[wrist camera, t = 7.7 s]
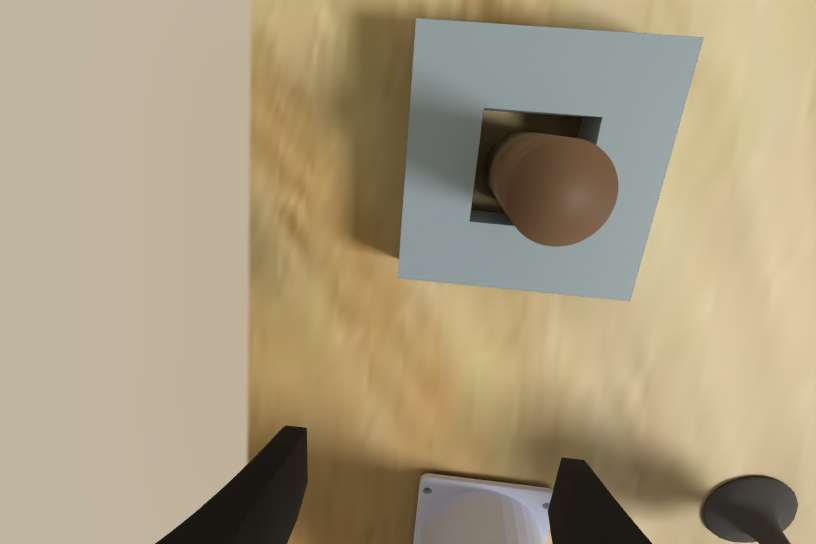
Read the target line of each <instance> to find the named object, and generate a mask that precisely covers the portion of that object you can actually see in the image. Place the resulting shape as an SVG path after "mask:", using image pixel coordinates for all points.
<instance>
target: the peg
mask: <svg viewBox="0 0 816 544" xmlns="http://www.w3.org/2000/svg"><path fill="white" fill-rule="evenodd" d="M485 177H486V181H487V184H488V186H489V188H490V189H491V191H492V192H493V194H494V196H495V197H496V199H497V200H498V202H499V203H500V205H501V206H502V208H503V209H504V211H505V212H506V214H507V215H508V217H509V218H510V220H511V221H512V223H513V224H514V226H515V227H516V228H517V230H518V231H519V232H520V233H521V234H522V235H524V236H525V237H526V238H528V239H529V240H531V241H533V242H535V243H538V244H541V245H545V246H551V247H561V246H568V245H572V244H575V243H578V242H581V241H583V240H585V239H587V238H588V237H590V236H591V235H593V234H594V233H595V232H597V231H598V230H599V229H600V228H601V227H602V226H603V225H604V224H605V222H606V221H607V220H608V218H609V217H610V215H611V213H612V211H613V209H614V207H615V204H616V201H617V196H618V176H617V172H616V169H615V167H614V164H613V162H612V161H611V159H610V158H609V156H608V155H607V154H606V153H605V152H604V151H603V150H602V149H601V148H600V147H598V146H597V145H595V144H593V143H591V142H589V141H587V140H583V139H579V138H572V137H565V136H558V135H550V134H543V133H536V132H528V131H520V132H515V133H511V134H509V135H507V136H505V137H503V138H502V139H501V140H499V141H498V142H497V143H496V144H495V145H494V146H493V148H492V149H491V151H490V152H489V155H488V157H487V160H486V164H485Z"/></svg>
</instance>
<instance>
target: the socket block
mask: <svg viewBox="0 0 816 544" xmlns="http://www.w3.org/2000/svg"><path fill="white" fill-rule="evenodd" d="M703 38H704V37H691V36H676V35H661V34H646V33H631V32H616V31H601V30H586V29H571V28H556V27H541V26H526V25H511V24H496V23H481V22H465V21H450V20H435V19H420V18H416V26H415V40H414V54H413V68H412V83H411V97H410V111H409V125H408V139H407V154H406V168H405V182H404V196H403V210H402V225H401V239H400V253H399V267H398V278H400V279H410V280H421V281H431V282H441V283H451V284H461V285H471V286H481V287H491V288H501V289H511V290H522V291H532V292H542V293H552V294H562V295H572V296H582V297H592V298H602V299H612V300H623V301H630V299H631V296H632V292H633V289H634V285H635V282H636V278H637V274H638V271H639V267H640V264H641V260H642V256H643V253H644V249H645V246H646V242H647V239H648V235H649V231H650V228H651V224H652V221H653V217H654V214H655V210H656V206H657V203H658V199H659V196H660V192H661V188H662V185H663V181H664V178H665V174H666V171H667V167H668V163H669V160H670V156H671V153H672V149H673V145H674V142H675V138H676V135H677V131H678V128H679V124H680V120H681V117H682V113H683V110H684V106H685V103H686V99H687V95H688V92H689V88H690V85H691V81H692V77H693V74H694V70H695V67H696V63H697V60H698V56H699V52H700V49H701V45H702V42H703ZM484 110H490V111H503V112H516V113H529V114H542V115H555V116H568V117H581V118H582V120H581V125H580V129H579V134H578V138H579V139H583V140H587V141H589V142H591V143H593V144H595V145H597V146H598V147H600V148H601V149H602V150H603V151H604V152H605V153H606V154H607V155H608V156H609V158H610V159H611V161H612V162H613V164H614V167H615V169H616V172H617V176H618V196H617V201H616V204H615V207H614V209H613V211H612V213H611V215H610V217H609V218H608V220H607V221H606V222H605V224H604V225H603V226H602V227H601V228H600V229H599V230H598V231H597V232H595V233H594V234H593V235H591V236H590V237H588V238H587V239H585V240H583V241H581V242H578V243H575V244H572V245H568V246H561V247H551V246H545V245H541V244H538V243H535V242H533V241H531V240H529V239H528V238H526V237H525V236H524V235H522V234H521V233H520V232H519V231H518V230H517V228H516V227H515V226H514V224H513V223H512V221H511V220H510V218H509V217H508V215H507V214H506V213H496V212H485V211H474V210H471V205H472V197H473V189H474V182H475V174H476V166H477V158H478V150H479V142H480V134H481V126H482V118H483V111H484Z"/></svg>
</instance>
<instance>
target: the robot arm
mask: <svg viewBox="0 0 816 544" xmlns="http://www.w3.org/2000/svg"><path fill="white" fill-rule="evenodd" d="M307 483H308V477H307V428H302V427H293V426H285V427H283V428H282V429H281V430H280V431H279V432H278V433H277V434H276V435H275V437H274V438H273V439H272V440H271V441H270V442H269V443H268V444H267V445H266V446H265V447H264V448H263V449H262V450H261V451H260V452H259V453H258V454H257V455H256V456H255V457H254V458H253V459H252V460H251V461H250V462H249V463H248V464H247V465H246V466H245V467H244V468H243V469H242V470H241V471H240V472H239V473H238V474H237V475H236V476H235V477H234V478H233V479H232V480H231V481H230V482H229V483H228V484H227V485H226V486H225V487H224V488H222V489H221V490H220V491H219V492H218V493H217V494H216V495H214V496H213V497H212V498H211V499H210V500H209V501H208V502H207V503H205V504H204V505H203V506H202V507H201V508H200V509H199V510H197V511H196V512H195V513H194V514H193V515H191V516H190V517H189V518H188V519H187V520H185V521H184V522H183V523H182V524H181V525H179V526H178V527H176V528H175V529H174V530H173V531H171V532H170V533H169V534H167V535H166V536H165V537H164V538H162V539H161V540H160V541H158V542H157V543H155V544H287V542H288V540H289V537H290V535H291V533H292V530H293V528H294V525H295V523H296V520H297V517H298V514H299V510H300V507H301V504H302V500H303V497H304V493H305V490H306V486H307ZM426 488H430V489H426ZM547 502H548V503H547ZM544 503H545V504H544ZM549 528H550V530H551V536H552V542H553V544H652V543H651V542H650V541H649V539H648V538H647V537H646V536H645V535H644V534H643V532H642V531H641V530H640V529H639V528H638V526H637V525H636V524H635V523H634V522H633V520H632V519H631V518H630V517H629V516H628V514H627V513H626V512H625V511H624V510H623V508H622V507H621V506H620V505H619V503H618V502H617V501H616V500H615V498H614V497H613V496H612V495H611V493H610V492H609V491H608V490H607V488H606V487H605V486H604V485H603V483H602V482H601V481H600V479H599V478H598V477H597V476H596V474H595V473H594V472H593V471H592V469H591V468H590V467H589V466H588V464H587V463H586V462H585V461H584V460H579V459H570V458H562V459H561V462H560V466H559V470H558V474H557V478H556V481H555V485H554V489H550V488H545V487H536V486H528V485H520V484H512V483H504V482H496V481H488V480H479V479H471V478H463V477H455V476H447V475H439V474H431V473H426V474H423V475H422V476H421V478H420V484H419V493H418V503H417V512H416V521H415V530H414V539H413V544H546V540H547V536H548V532H549Z"/></svg>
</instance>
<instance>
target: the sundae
mask: <svg viewBox="0 0 816 544" xmlns="http://www.w3.org/2000/svg"><path fill="white" fill-rule="evenodd" d="M797 507H798V503H797V498H796V496H795V493H794V492H793V491H792V490H791V488H790V487H788V486H787V485H786V484H784V483H783V482H780V481H778V480H775V479H771V478H767V477H746V478H742V479H738V480H735V481H731V482H729V483H727V484H725V485H723V486H722V487H720V488H719V489H717V490H716V491H715V492H714V493H713V494H712V495H711V496H710V498H709V499H708V501H707V502H706V504H705V508H704V513H703V518H704V521H705V524H706V526H707V528H708V529H709V530H710V531H711V532H712V533H714V534H715V535H717V536H718V537H719V538H722V539H725V540H728V541H732V542H758V543H759V544H790V542H789V541H788V539H787V538H786V536H785V535H784V533H783V531H784V530H785V529H786V528H787V527H788V526H789V525H790V524H791V522H792V521H793V520H794V518H795V515H796V511H797Z"/></svg>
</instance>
